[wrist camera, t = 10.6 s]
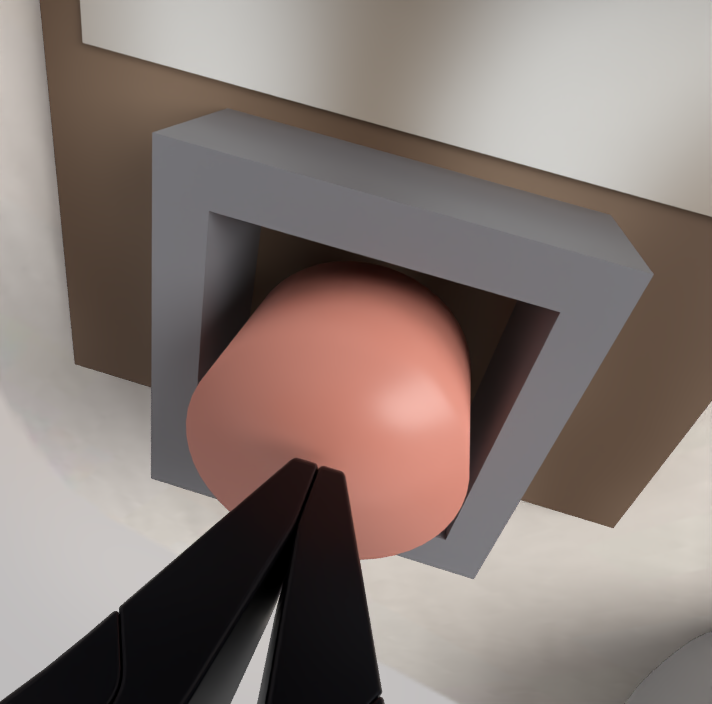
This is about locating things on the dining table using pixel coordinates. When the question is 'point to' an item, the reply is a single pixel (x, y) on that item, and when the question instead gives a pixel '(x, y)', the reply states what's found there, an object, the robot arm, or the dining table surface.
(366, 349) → the button
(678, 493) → the dining table surface
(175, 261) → the button housing
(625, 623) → the dining table surface
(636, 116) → the picture frame
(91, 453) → the dining table surface
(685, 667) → the lumpy-topped squat cylinder
